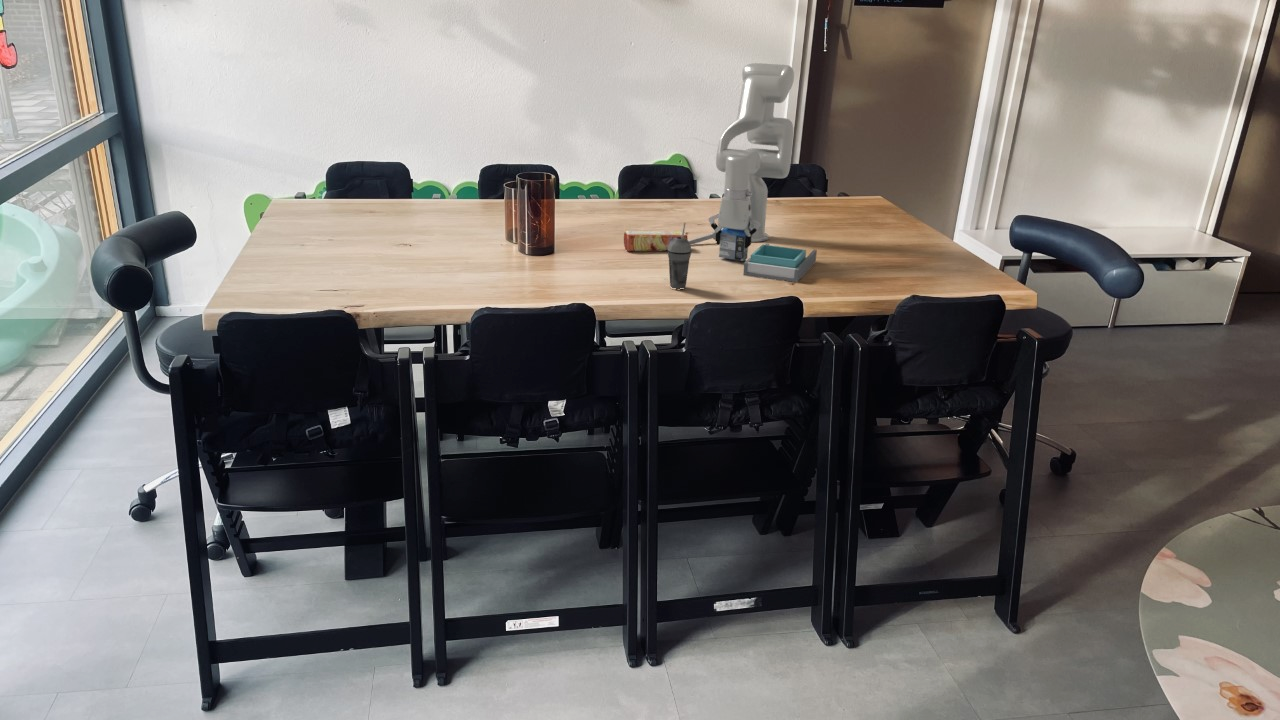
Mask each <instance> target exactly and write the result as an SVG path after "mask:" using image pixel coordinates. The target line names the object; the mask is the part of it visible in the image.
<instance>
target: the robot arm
mask: <svg viewBox="0 0 1280 720" xmlns="http://www.w3.org/2000/svg"><path fill="white" fill-rule="evenodd" d="M741 76H742V81H743V83H742V88H741V94H740V99H739V105H738V109H737V110H738V111H737V116H736V119H735V120H734V121H732V122H731V123H730V124H729V125H728V126H727V127H726V128H725V129H724V130H723V132H722V134H721V135H720V138H719V140H718V144H717V145H718V146H717V150H716V156H715V166H716V169H717V170H718V171H720V172H721V173H722V172H723V173H725V174H724V176H725V177H724V178H725V179H724V189H723V190H724V192H723V193H724V194H723V196H722V197H721V201H720V204H719V211H718V213H717V214H714V215H712V216H710V217H709V218H708V222H709V224H710V226H711V228H712V229H713V230H714V231H715V232H716V240H715V242H716V246H718V245H719V246H720V233H721V229H723V228H728V229H736V230H744V232H745V233H746V235H747V236H746V237H745V248H748V249H749V247H750V246H751V244H752V243H760V242H765V241H768V240H769V239H770V238H769V237H770V236H769V234H768V233H766V232H765V230H766V229H765V228H766V218H767V204H768V193H769V191H768V187H767V184H766V183H765V181H764V179H763V178H769V179H770V178H771V179H785V178H787V177H788V175H789V173H790V169H791V164H792V163H791V162H792V152H793V151H792V150H793V145H794V144H793V143H794V142H793V141H794V125H793V122H792V121H791V120H790V119H788V118H784V117H774V113H775V112H774V111H775V110H774V109H775V104H782V103H783V102H784V101H785V100H786V99H787V97H788V95H789V93H790V91H791V89H792V87H793V84H794V80H795V72H794V69H793V67H792V66H790V65H787V64H777V63H776V64H773V63H761V62H759V63H758V62H757V63H756V62H755V63H754V62H753V63H749V64H745V65H744V66H743V68H742V74H741ZM744 133H746V139H747V141H748V142H749V143H751V144H752V145H759V146H771V147H777V148H778V149H766V148H748V149H736V148H735V149H734V148H728V147H729V145H730V143H731V141H733V139H735V138H736V137H738V136H741V135H742V134H744ZM715 220H718V222H717V223H716V221H715ZM748 224H749V226H748Z"/></svg>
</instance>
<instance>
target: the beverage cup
mask: <svg viewBox="0 0 1280 720" xmlns="http://www.w3.org/2000/svg"><path fill="white" fill-rule="evenodd" d="M686 224H687V223H686V222H684V223H683V227H682V237H676V238H674V239H673V240H672V241H671V242H670V243H669V246H668V250H667V251H666V252H667V256H668V265H669V266H668V270H669V284H670V285H669V286H671V287H672V288H676V289H680V288H685V289H686V285H687V281H688V280H687V279H688V271H689V267H690V266H689V265H690V259H691V255H692V245H690V243H689V241H688V240H689V239H688V240H687V239H685V238H683V236H684V232H685V229H686Z"/></svg>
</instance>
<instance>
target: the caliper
mask: <svg viewBox="0 0 1280 720" xmlns="http://www.w3.org/2000/svg"><path fill="white" fill-rule="evenodd" d="M722 230H723V228H722V229H721V231H722ZM711 239H713V240H715V241H716V232H715V230H714V231H712V232H711V233H708V234H705V235H703V236H699V237H695V238H692V239H688V241H689V243H690V245H691V244H692V245H694V244H697V243H700V242H704V241H708V240H711ZM692 245H691V246H692Z"/></svg>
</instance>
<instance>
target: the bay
mask: <svg viewBox="0 0 1280 720" xmlns="http://www.w3.org/2000/svg"><path fill="white" fill-rule="evenodd" d="M764 245H770V243H765V244H764ZM817 252H818V250H817V249H813V250H812V251H811V252H810V253H809V254H808V255H806V258H805V260H804V261H803V262H802V263H801V264H800V265H799V266H798V267H797V268H789V267H781V266H774V265H766V264H759V263H751V262H750V259H751V256H750V257H749V258H747V259H746V260H745V262H743V272H742V273H743V276H747V277H753V276H754V278H760V277H763V278H762V279H767V278H768V279H769V280H774V279H776V280H777V281H782V280H786V281H785V282H789V281H792V282H791V283H796V282H797V283H798V282H799V281H800V280H801V279H802V278H803V277H804V275H805V274H806V273H807V272H808V271H809V270H810V269H811V268H812V267H813V266H814V264H815V263H816V262H817ZM810 267H811V268H810ZM809 268H810V269H809ZM801 277H802V278H801ZM800 278H801V279H800ZM768 279H767V280H768ZM799 279H800V280H799ZM798 280H799V281H798Z"/></svg>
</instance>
